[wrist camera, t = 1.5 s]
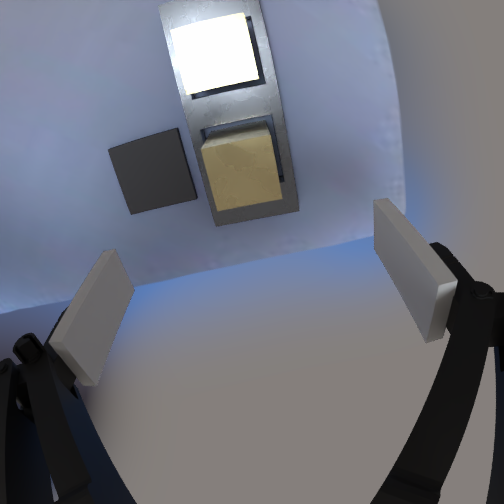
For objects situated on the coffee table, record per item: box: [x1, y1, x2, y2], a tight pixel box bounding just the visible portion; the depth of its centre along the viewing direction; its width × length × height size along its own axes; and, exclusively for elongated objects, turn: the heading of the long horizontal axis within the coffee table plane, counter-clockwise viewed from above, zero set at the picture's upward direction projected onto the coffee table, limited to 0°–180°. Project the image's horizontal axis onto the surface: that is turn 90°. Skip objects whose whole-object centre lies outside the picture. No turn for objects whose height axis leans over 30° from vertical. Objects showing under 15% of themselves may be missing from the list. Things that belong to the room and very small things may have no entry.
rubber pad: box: [108, 128, 197, 215], centre depth 32 cm, size 8×8×1 cm
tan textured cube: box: [201, 120, 282, 211], centre depth 28 cm, size 6×6×8 cm
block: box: [171, 13, 259, 95], centre depth 23 cm, size 6×6×8 cm
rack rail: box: [158, 0, 299, 227], centre depth 28 cm, size 9×24×2 cm, turn 11°
